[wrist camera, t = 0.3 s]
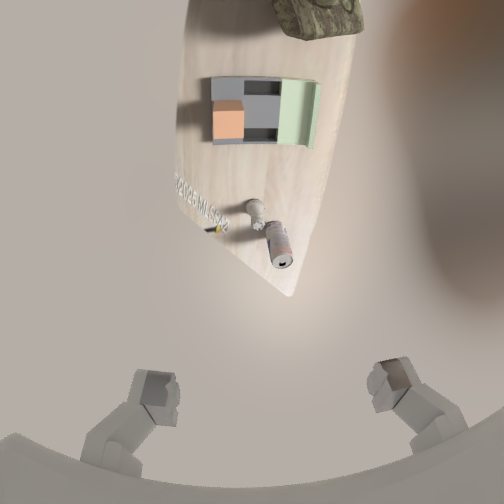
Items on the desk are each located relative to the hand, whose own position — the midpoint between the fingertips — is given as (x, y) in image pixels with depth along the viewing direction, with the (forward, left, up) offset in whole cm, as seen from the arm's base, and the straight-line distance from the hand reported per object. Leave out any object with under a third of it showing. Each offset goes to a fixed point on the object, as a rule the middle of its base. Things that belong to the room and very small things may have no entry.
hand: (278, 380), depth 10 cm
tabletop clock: (-22, -2, -51) cm, 56 cm away
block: (+4, +2, -48) cm, 49 cm away
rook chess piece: (+20, +21, -51) cm, 59 cm away
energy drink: (+23, +30, -51) cm, 64 cm away
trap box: (0, +8, -51) cm, 51 cm away
